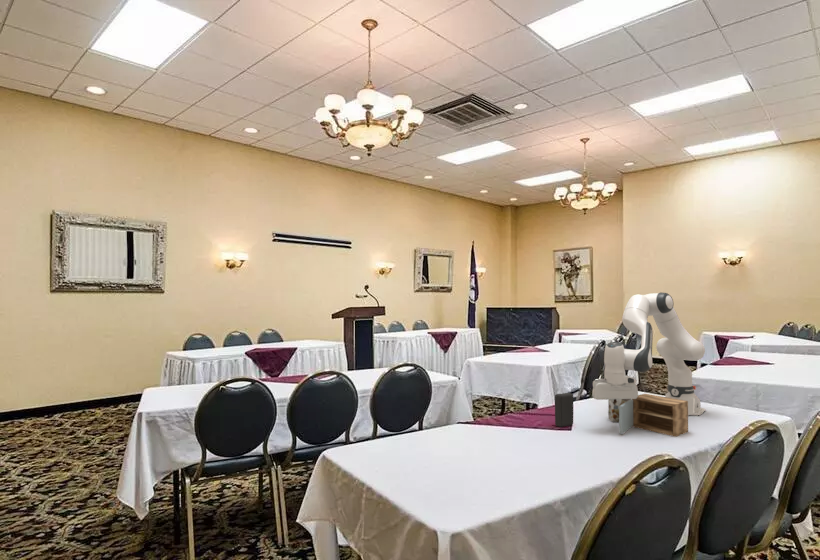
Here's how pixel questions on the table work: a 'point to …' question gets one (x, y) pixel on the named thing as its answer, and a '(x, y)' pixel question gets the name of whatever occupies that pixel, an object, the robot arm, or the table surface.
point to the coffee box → (614, 411)
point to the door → (625, 416)
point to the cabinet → (660, 414)
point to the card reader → (563, 409)
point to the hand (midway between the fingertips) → (615, 408)
